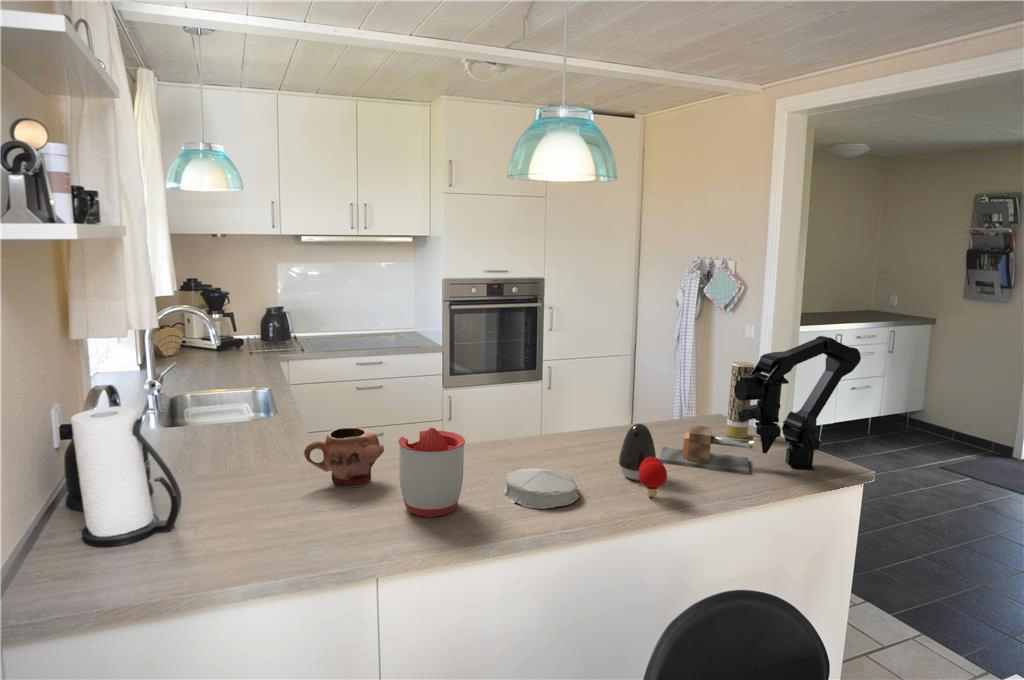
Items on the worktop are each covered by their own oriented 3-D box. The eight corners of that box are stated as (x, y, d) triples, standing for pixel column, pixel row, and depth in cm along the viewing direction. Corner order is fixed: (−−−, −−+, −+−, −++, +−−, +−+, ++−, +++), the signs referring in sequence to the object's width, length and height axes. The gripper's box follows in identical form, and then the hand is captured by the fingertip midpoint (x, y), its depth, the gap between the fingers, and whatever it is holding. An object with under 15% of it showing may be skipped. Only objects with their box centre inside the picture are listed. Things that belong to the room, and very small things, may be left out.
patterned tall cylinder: (744, 433, 228) (751, 362, 224) (749, 440, 221) (756, 366, 217) (724, 432, 229) (730, 361, 225) (728, 438, 222) (734, 365, 218)
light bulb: (668, 505, 166) (671, 466, 164) (640, 504, 166) (643, 465, 164) (661, 490, 175) (663, 454, 174) (634, 489, 175) (636, 453, 174)
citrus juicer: (427, 488, 172) (428, 413, 169) (477, 507, 161) (479, 427, 158) (379, 506, 160) (379, 425, 157) (430, 528, 149) (431, 442, 146)
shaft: (762, 450, 195) (764, 438, 194) (763, 453, 191) (764, 441, 191) (699, 442, 200) (700, 430, 200) (698, 445, 197) (699, 434, 196)
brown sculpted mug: (309, 497, 164) (308, 443, 162) (301, 480, 175) (300, 428, 173) (389, 486, 172) (389, 434, 170) (377, 470, 183) (377, 421, 181)
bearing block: (747, 460, 201) (750, 430, 199) (748, 474, 189) (751, 442, 188) (663, 450, 208) (665, 420, 207) (659, 462, 197) (661, 431, 195)
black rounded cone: (612, 479, 182) (615, 425, 180) (624, 467, 191) (627, 416, 189) (648, 486, 178) (652, 431, 175) (659, 474, 187) (663, 422, 184)
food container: (491, 485, 177) (491, 461, 176) (560, 476, 184) (560, 453, 183) (518, 517, 158) (519, 490, 157) (594, 506, 165) (595, 480, 164)
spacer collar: (688, 453, 203) (690, 432, 202) (687, 459, 197) (689, 438, 196) (684, 452, 203) (685, 432, 202) (682, 458, 198) (684, 438, 197)
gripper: (739, 388, 202) (735, 438, 204) (740, 403, 184) (735, 457, 187) (779, 392, 198) (773, 443, 201) (783, 407, 181) (777, 462, 183)
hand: (764, 451), depth 193 cm, fingers closed on shaft, 4 cm apart
